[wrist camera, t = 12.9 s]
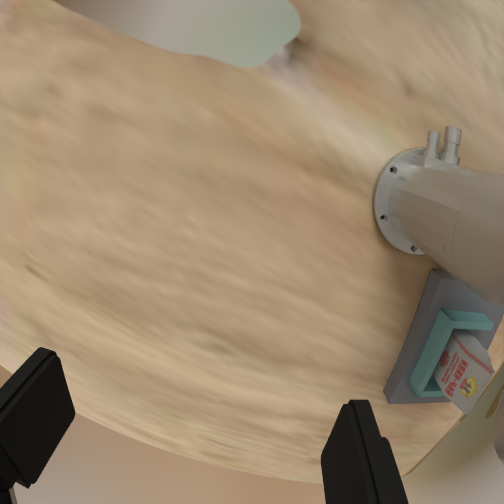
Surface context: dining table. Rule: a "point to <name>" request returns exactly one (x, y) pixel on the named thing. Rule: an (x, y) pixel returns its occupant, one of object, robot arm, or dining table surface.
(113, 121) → the dining table surface
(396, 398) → the dock
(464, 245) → the robot arm
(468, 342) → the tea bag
